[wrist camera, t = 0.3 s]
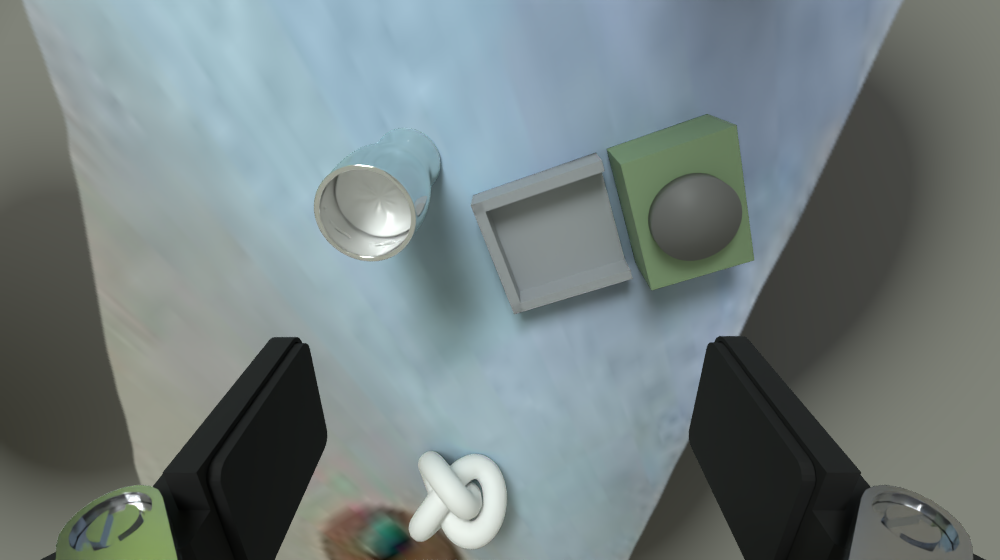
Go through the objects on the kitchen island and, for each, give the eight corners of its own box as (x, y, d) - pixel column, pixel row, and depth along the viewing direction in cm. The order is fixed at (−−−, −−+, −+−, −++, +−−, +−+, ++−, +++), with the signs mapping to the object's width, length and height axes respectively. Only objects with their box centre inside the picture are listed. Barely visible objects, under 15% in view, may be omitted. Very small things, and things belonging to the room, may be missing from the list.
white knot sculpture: (513, 439, 60) (514, 501, 52) (500, 504, 65) (500, 569, 57) (422, 429, 59) (409, 491, 51) (417, 496, 65) (405, 560, 57)
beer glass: (459, 178, 45) (439, 238, 31) (396, 210, 46) (351, 280, 33) (420, 108, 42) (380, 141, 29) (354, 144, 44) (287, 191, 30)
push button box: (472, 195, 46) (467, 223, 39) (707, 114, 42) (745, 128, 35) (513, 299, 51) (515, 340, 44) (725, 234, 47) (762, 268, 40)
